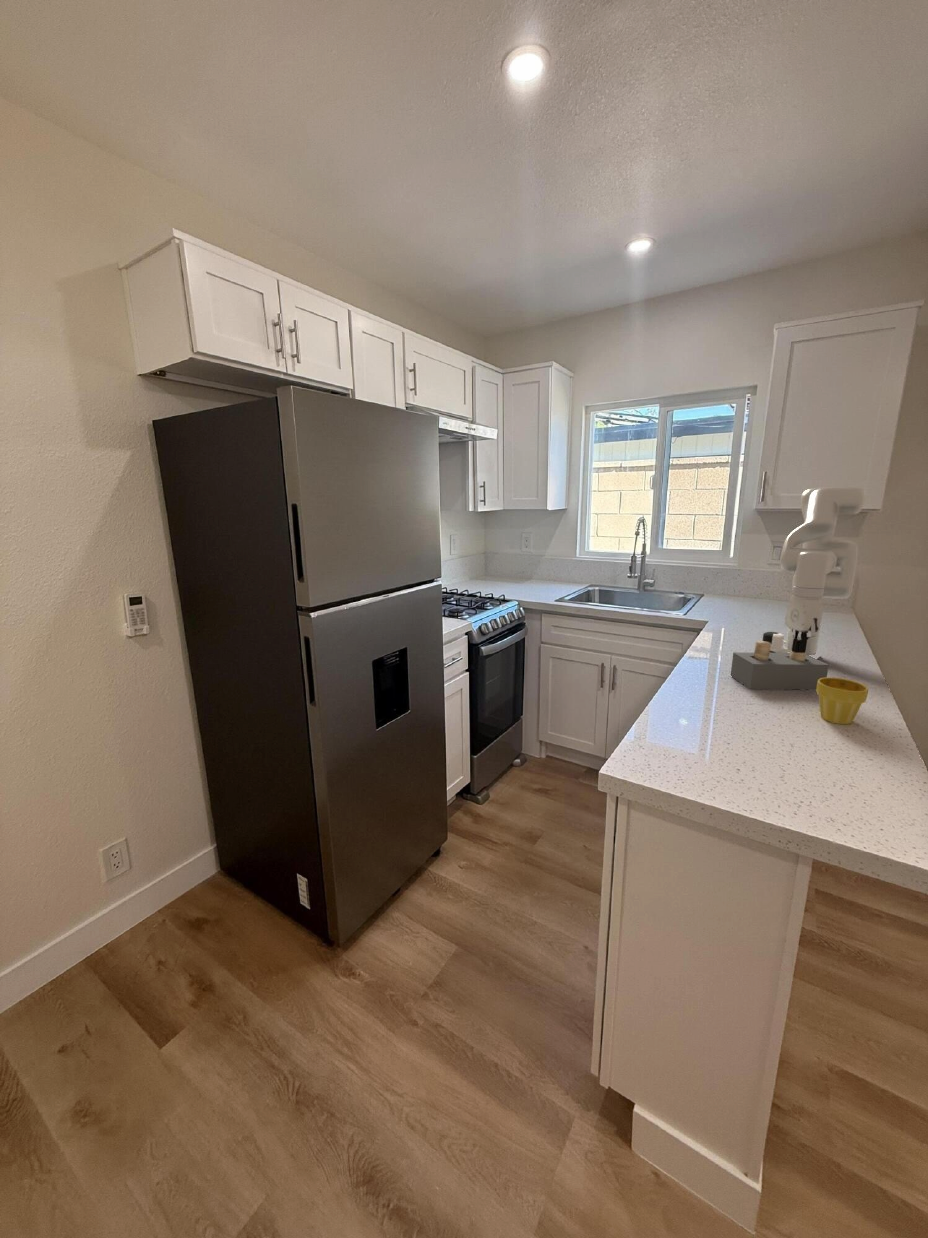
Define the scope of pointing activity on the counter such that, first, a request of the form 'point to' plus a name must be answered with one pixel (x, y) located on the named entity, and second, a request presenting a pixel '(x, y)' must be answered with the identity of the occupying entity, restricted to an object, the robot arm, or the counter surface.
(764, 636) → the medicine bottle
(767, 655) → the peg
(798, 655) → the peg
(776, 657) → the collar block
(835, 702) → the plant pot
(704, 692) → the counter surface
